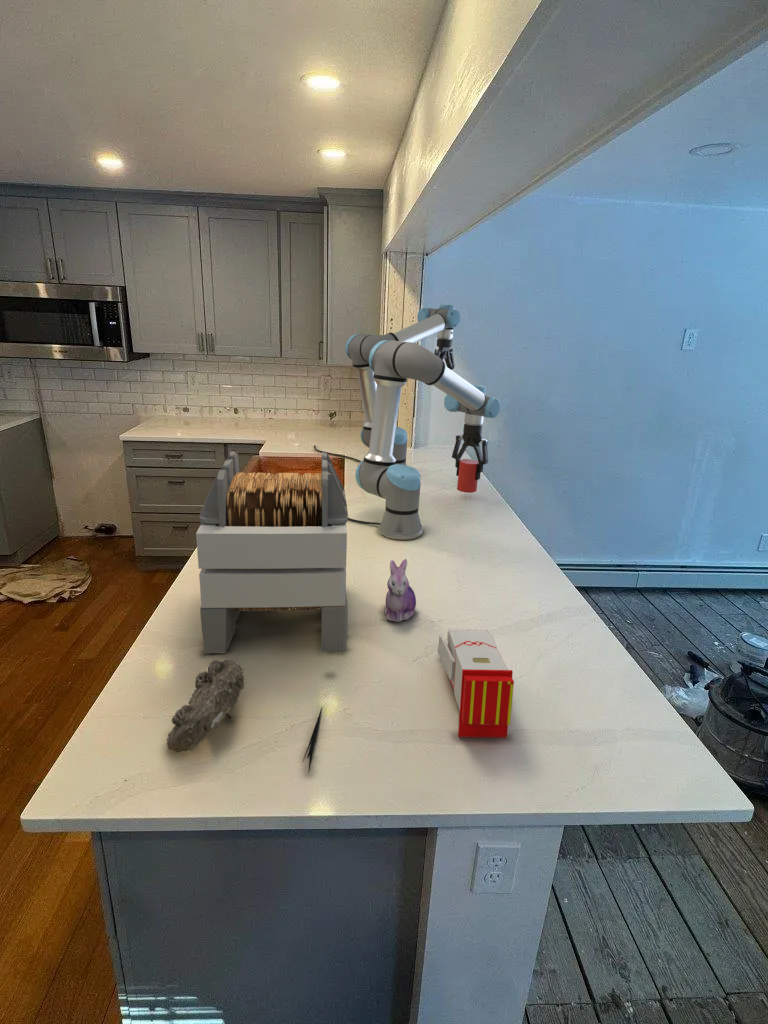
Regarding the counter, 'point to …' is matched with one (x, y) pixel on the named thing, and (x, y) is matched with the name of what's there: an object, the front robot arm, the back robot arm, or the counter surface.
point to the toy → (478, 682)
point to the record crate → (273, 550)
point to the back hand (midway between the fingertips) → (441, 383)
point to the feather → (313, 740)
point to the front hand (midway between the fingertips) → (467, 477)
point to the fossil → (206, 705)
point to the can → (467, 476)
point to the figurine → (399, 594)
